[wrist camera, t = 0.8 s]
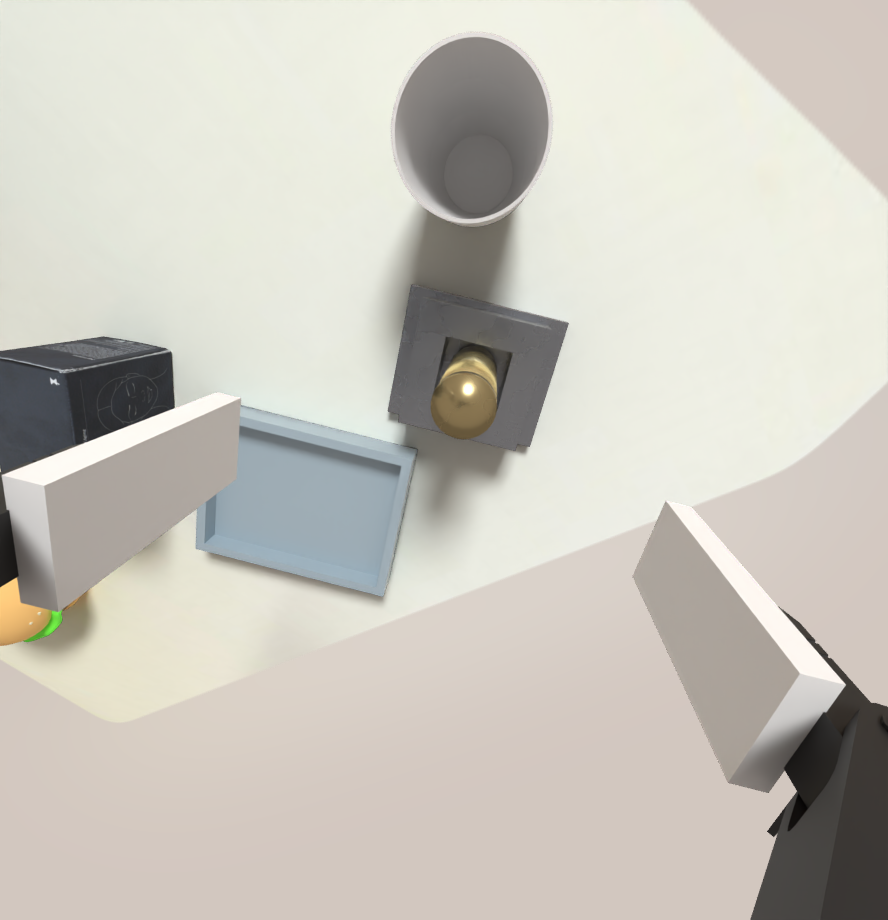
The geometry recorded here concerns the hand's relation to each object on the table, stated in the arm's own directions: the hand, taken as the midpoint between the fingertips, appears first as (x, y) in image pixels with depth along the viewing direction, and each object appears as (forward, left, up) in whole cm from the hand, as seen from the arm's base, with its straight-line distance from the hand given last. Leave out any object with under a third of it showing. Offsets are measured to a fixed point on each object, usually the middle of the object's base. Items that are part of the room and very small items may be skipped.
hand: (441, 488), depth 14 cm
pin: (0, 0, -24) cm, 24 cm away
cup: (-3, +13, -25) cm, 28 cm away
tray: (-12, -15, -25) cm, 32 cm away
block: (0, 0, -25) cm, 25 cm away
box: (-28, -10, -25) cm, 39 cm away
